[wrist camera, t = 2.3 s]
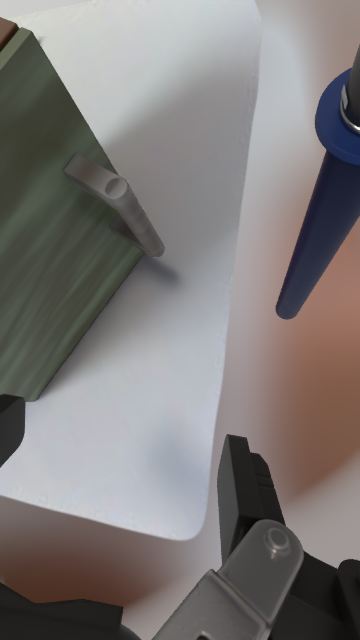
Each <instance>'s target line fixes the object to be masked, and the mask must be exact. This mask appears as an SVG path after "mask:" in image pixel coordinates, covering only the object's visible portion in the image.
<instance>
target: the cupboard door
mask: <svg viewBox="0 0 360 640" xmlns="http://www.w3.org/2000/svg"><path fill="white" fill-rule="evenodd" d="M144 252H145V253H146V254H148V255H149V256H151V257H159V256H161V255H162V254H163V252H164V245H163V243H162V242H161V240H160V238H159V236H158V235H157V233H156V231H155V229H154V228H153V226H152V224H151V223H150V221H149V219H148V217H147V216H146V214H145V212H144V210H143V209H142V207H141V205H140V204H139V202H138V200H137V198H136V197H135V195H134V193H133V191H132V190H131V188H130V186H129V185H128V183H127V181H126V180H125V179H124V178H122V177H120V176H119V175H118V174H117V172H116V170H115V169H114V167H113V165H112V164H111V162H110V160H109V159H108V157H107V155H106V154H105V152H104V150H103V149H102V147H101V145H100V144H99V142H98V140H97V139H96V137H95V135H94V134H93V132H92V130H91V129H90V127H89V125H88V124H87V122H86V120H85V119H84V117H83V115H82V114H81V112H80V110H79V109H78V107H77V105H76V104H75V102H74V100H73V99H72V97H71V95H70V94H69V92H68V91H67V89H66V87H65V86H64V84H63V82H62V81H61V79H60V77H59V76H58V74H57V72H56V71H55V69H54V67H53V66H52V64H51V62H50V61H49V59H48V57H47V56H46V54H45V52H44V51H43V49H42V47H41V46H40V44H39V42H38V41H37V39H36V37H35V36H34V34H33V32H32V31H30V30H27V29H25V28H22V27H21V28H20V29H19V30H18V31H17V33H16V34H15V35H14V36H13V38H12V39H11V40H10V41H9V43H8V44H7V45H6V46H5V47H4V49H3V50H2V51H1V52H0V395H2V394H9V395H14V396H20V397H23V398H24V399H25V402H35V400H36V399H37V398H38V396H39V395H40V394H41V392H42V391H43V390H44V388H45V387H46V385H47V384H48V383H49V381H50V380H51V379H52V377H53V376H54V375H55V373H56V372H57V370H58V369H59V368H60V366H61V365H62V364H63V362H64V361H65V360H66V358H67V357H68V356H69V354H70V353H71V351H72V350H73V349H74V347H75V346H76V345H77V343H78V342H79V341H80V339H81V338H82V336H83V335H84V334H85V332H86V331H87V330H88V328H89V327H90V326H91V324H92V323H93V322H94V320H95V319H96V317H97V316H98V315H99V313H100V312H101V311H102V309H103V308H104V307H105V305H106V304H107V302H108V301H109V300H110V298H111V297H112V296H113V294H114V293H115V292H116V290H117V289H118V287H119V286H120V285H121V283H122V282H123V281H124V279H125V278H126V277H127V275H128V274H129V273H130V271H131V270H132V268H133V267H134V266H135V264H136V263H137V262H138V260H139V259H140V258H141V256H142V255H143V253H144Z"/></svg>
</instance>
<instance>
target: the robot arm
mask: <svg viewBox="0 0 360 640" xmlns="http://www.w3.org/2000/svg"><path fill="white" fill-rule="evenodd" d="M341 94H342V97H341V100H340V104H339V117H340V120H341V122H342V124H343V125H344V126H345V128H346V129H347V130H349V131H350V132H351V133H353V134H354V135H356V136H359V137H360V45H359V48H358V51H357V54H356V57H355V60H354V63H353V67H352V69H351V72H350V75H349V78H348V81H347V85H346V88H345V86H343V89H342V92H341ZM24 432H25V399H24V398H23V397H20V396H14V395H9V394H2V395H0V467H1V466H2V465H3V464H4V463H5V462H6V461H7V460H8V458H9V457H10V456H11V455H12V454H13V453H14V452H15V451H16V450H17V448H18V447H19V446H20V444H21V442H22V440H23V437H24ZM217 488H218V506H219V520H220V538H221V554H222V566H221V568H220V569H219V570H218V571H217V572H215V571H214V570H213V569H211V570H209V571H208V572H207V573H206V574H205V575H204V576H203V577H202V578H201V579H200V581H199V582H198V583H197V584H196V586H195V587H194V588H193V589H192V591H191V592H190V593H189V594H188V596H187V597H186V598H185V599H184V600H183V602H182V603H181V604H180V605H179V607H178V608H177V609H176V610H175V611H174V613H173V614H172V615H171V616H170V618H169V619H168V620H167V621H166V623H165V624H164V625H163V626H162V628H161V629H160V630H159V631H158V632H157V634H156V635H155V636H154V637H153V639H152V640H360V561H358V560H354V559H348V560H344V561H342V562H341V563H340V565H339V567H338V569H337V568H335V567H332V566H330V565H328V564H326V563H324V562H322V561H320V560H318V559H316V558H314V557H313V556H311V555H309V554H308V553H306V552H305V551H304V550H303V548H302V545H301V543H300V541H299V540H298V538H297V537H296V536H295V535H294V533H293V532H292V531H291V530H290V529H288V528H287V527H286V525H285V521H284V518H283V515H282V511H281V508H280V505H279V502H278V498H277V495H276V491H275V489H274V484H273V481H272V479H271V474H270V471H269V468H268V465H267V463H266V462H265V461H264V459H263V458H262V457H261V456H260V455H259V454H257V453H251V452H250V450H249V446H248V441H247V438H246V437H240V436H235V435H229V434H227V435H226V438H225V442H224V447H223V451H222V455H221V460H220V464H219V469H218V478H217ZM122 614H123V607H121V606H116V605H111V604H106V603H101V602H96V601H91V600H86V599H77V600H67V601H58V602H48V603H33V602H31V601H30V600H28V599H26V598H25V597H23V596H22V595H20V594H18V593H17V592H15V591H13V590H12V589H10V588H9V587H7V586H5V585H4V584H2V583H0V640H141V639H140V638H139V637H138V636H137V635H136V634H135V633H134V632H133V631H131V630H130V629H129V628H127V627H126V626H124V625H122V624H121V620H122Z"/></svg>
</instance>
